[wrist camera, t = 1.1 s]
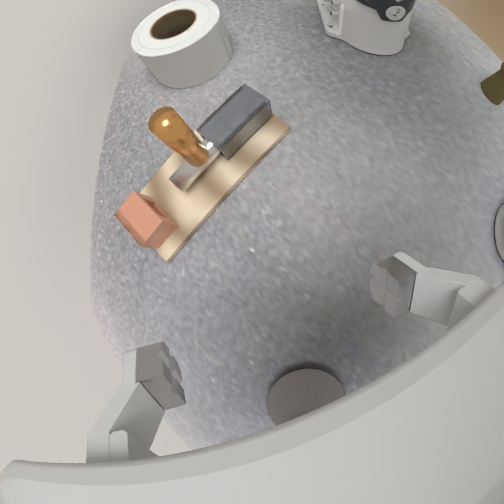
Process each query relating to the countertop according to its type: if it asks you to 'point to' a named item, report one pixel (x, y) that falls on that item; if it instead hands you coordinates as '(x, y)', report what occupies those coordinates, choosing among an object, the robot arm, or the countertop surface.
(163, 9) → the toilet paper roll
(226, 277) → the countertop surface
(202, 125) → the sleeve
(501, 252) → the chalice
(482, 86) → the cork
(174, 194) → the board
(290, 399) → the coffee pot
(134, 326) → the countertop surface
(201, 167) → the tube
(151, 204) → the socket
